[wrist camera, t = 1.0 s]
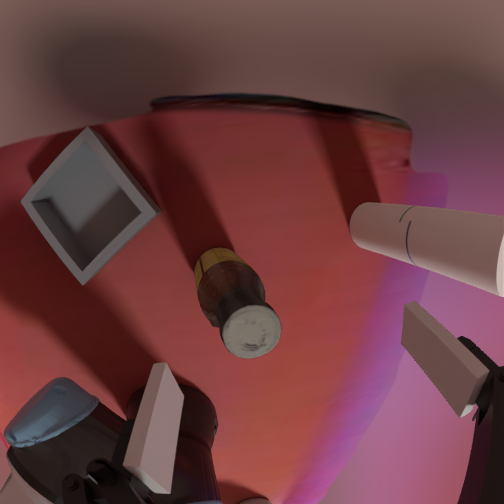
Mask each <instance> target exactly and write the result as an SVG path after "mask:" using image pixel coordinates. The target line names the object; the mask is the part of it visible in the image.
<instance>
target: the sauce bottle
mask: <svg viewBox="0 0 504 504" xmlns="http://www.w3.org/2000/svg"><path fill="white" fill-rule="evenodd" d="M194 275H195V281H196V288H197V294H198V299H199V303H200V306H201V309H202V311H203V313H204V314H205V316H206V318H207V319H208V320H209V321H210V323H211V325H212V326H213V327H219V328H220V336H221V339H222V341H223V343H224V345H225V347H226V348H227V349H228V351H229V352H231V353H232V354H234V355H235V356H238V357H241V358H246V359H249V358H256V357H259V356H262V355H264V354H266V353H268V352H269V351H270V350H272V349H273V348H274V347H275V346H276V344H277V343H278V341H279V339H280V335H281V329H282V328H281V322H280V320H279V317H278V315H277V314H276V313H275V311H274V310H273V308H272V307H271V306H270V305H269V304H267V303H266V302H265V290H264V286H263V283H262V281H261V279H260V278H259V276H258V275H257V273H256V272H255V271H254V270H253V269H252V268H251V267H250V266H249V265H248V264H247V263H246V262H245V261H244V260H242V259H241V258H240V257H239V256H238V255H237V254H236V253H234V252H233V251H231V250H229V249H227V248H218V247H216V248H212V249H210V250H207V251H206V252H205V253H203V254H202V255H201V256H200V257H199V258H198V260H197V263H196V266H195V272H194Z"/></svg>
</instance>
